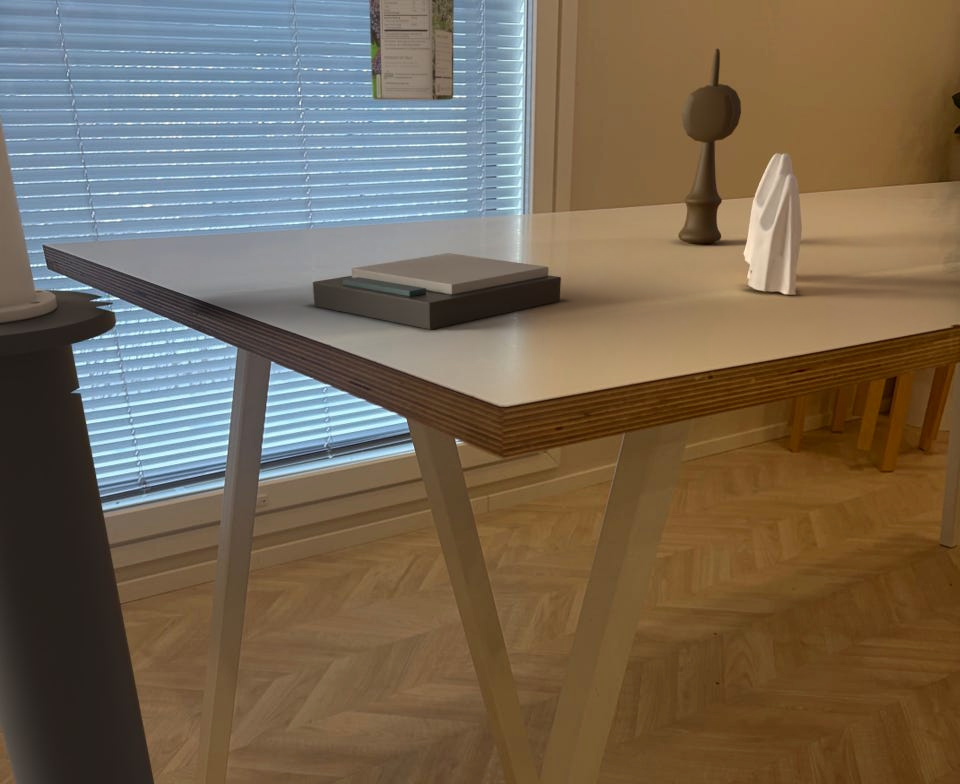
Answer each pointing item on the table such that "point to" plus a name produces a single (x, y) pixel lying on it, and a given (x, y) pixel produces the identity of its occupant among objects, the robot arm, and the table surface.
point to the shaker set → (775, 229)
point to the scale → (438, 290)
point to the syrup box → (412, 49)
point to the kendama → (707, 152)
